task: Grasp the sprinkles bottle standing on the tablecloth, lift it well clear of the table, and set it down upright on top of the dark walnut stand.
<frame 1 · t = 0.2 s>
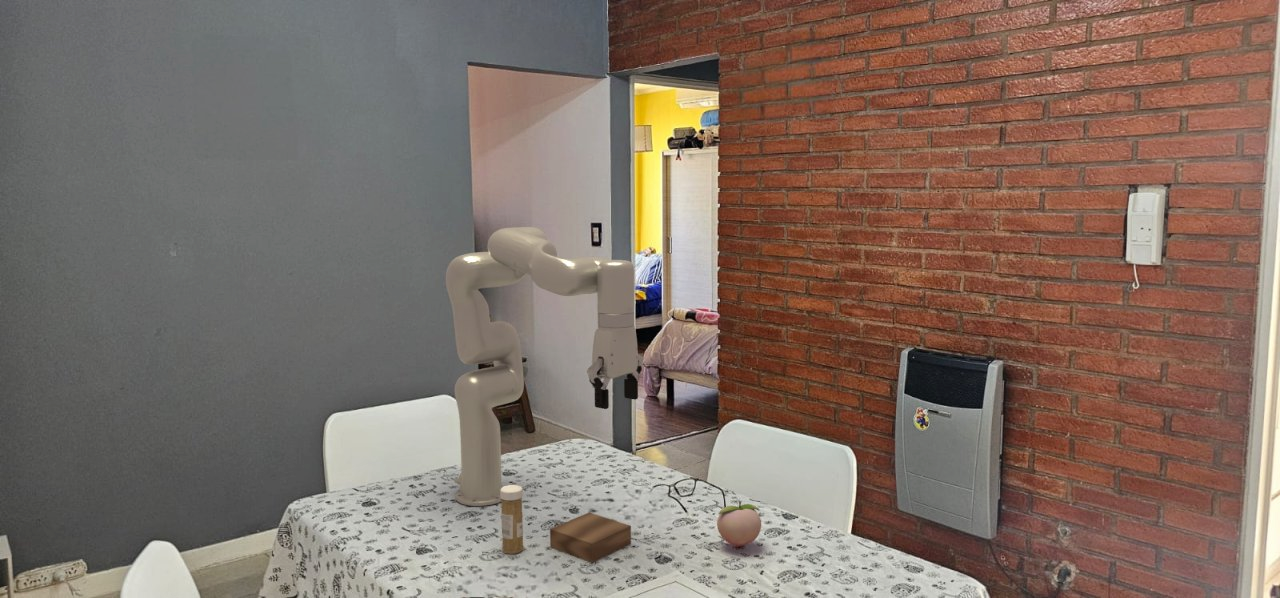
hand: (616, 403, 174), 31 cm above the table, tool pointing down, fingers open, 9 cm apart
decorative fruit: (740, 548, 177), on the table
walnut stand: (590, 545, 178), on the table
sprinkles bottle: (512, 551, 176), on the table
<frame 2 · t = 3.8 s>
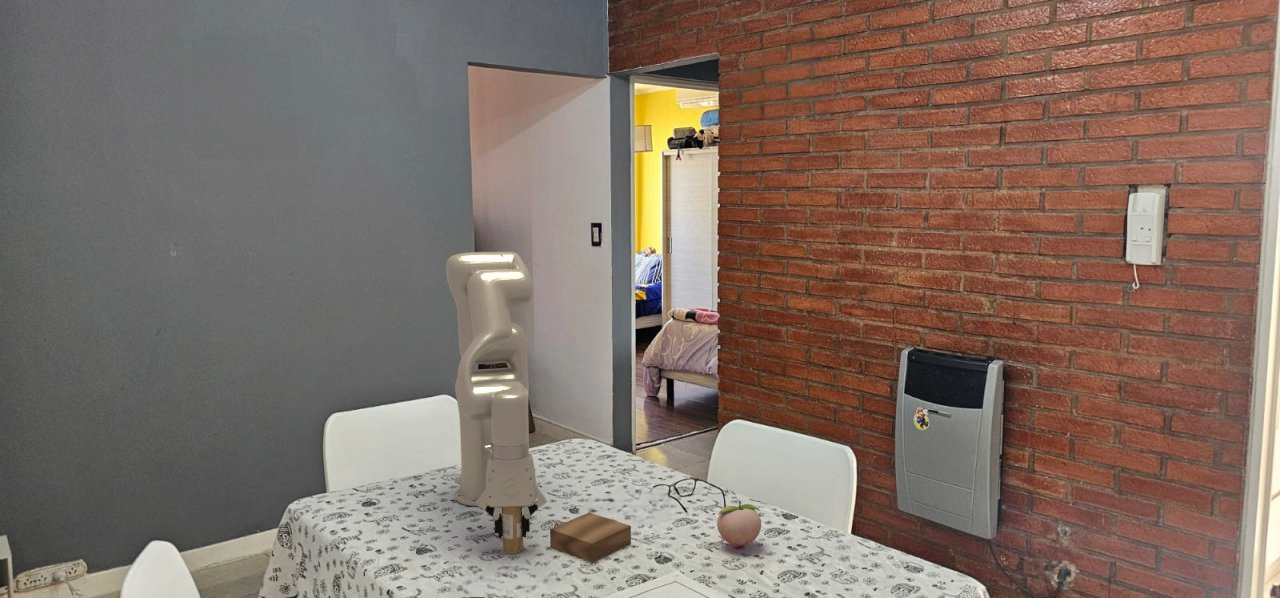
hand: (512, 534, 176), 3 cm above the table, tool pointing down, fingers closed on sprinkles bottle, 4 cm apart
sprinkles bottle: (512, 551, 176), on the table, touching gripper
everything else where it was.
when the fingers open (9 cm above the table, at t = 9.7 s): sprinkles bottle drops 1 cm, resting on walnut stand.
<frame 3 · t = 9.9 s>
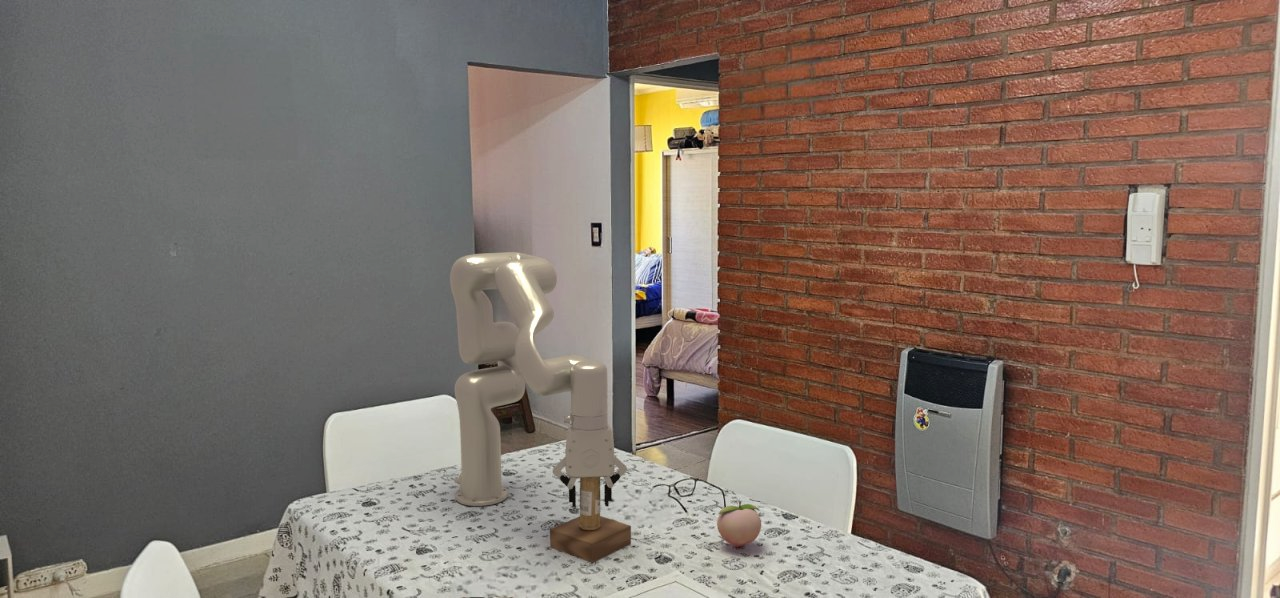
hand: (590, 504, 177), 9 cm above the table, tool pointing down, fingers open, 6 cm apart
sprinkles bottle: (589, 527, 178), point 4 cm above the table, touching walnut stand
everything else where it was.
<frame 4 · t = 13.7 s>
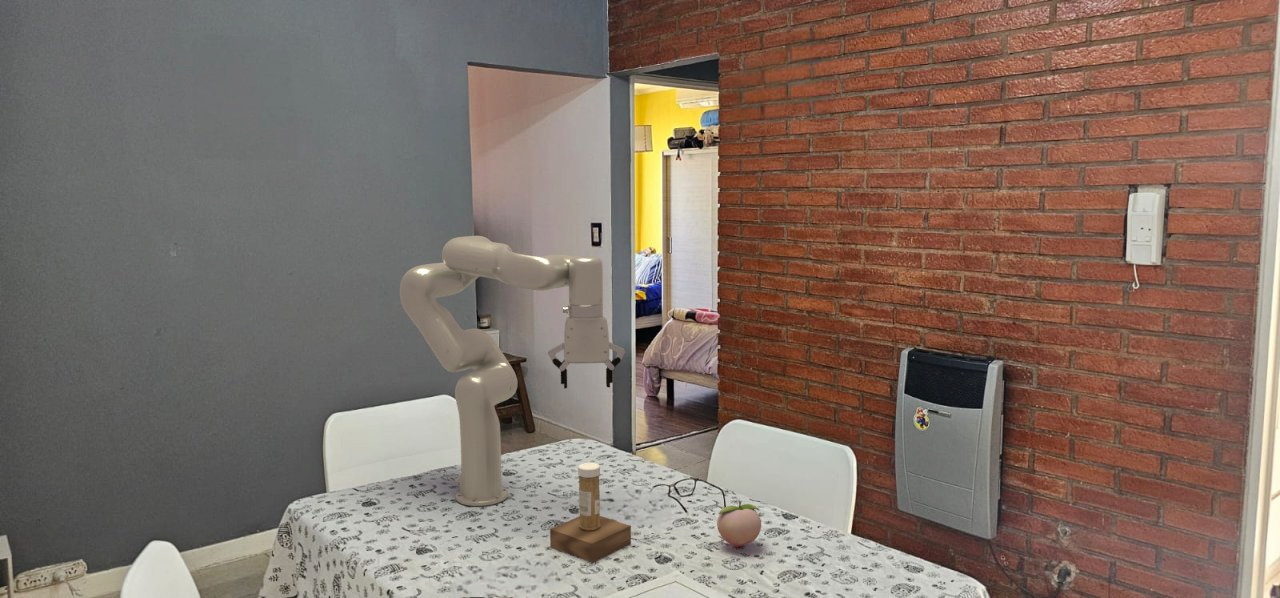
hand: (586, 386, 191), 30 cm above the table, tool pointing down, fingers open, 9 cm apart
nothing on the table moved.
at the end: sprinkles bottle inside the target area on the walnut stand (0.2 cm from its centre), point 3.8 cm above the walnut stand's base; sprinkles bottle tilted 0°; the gripper is holding nothing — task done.
